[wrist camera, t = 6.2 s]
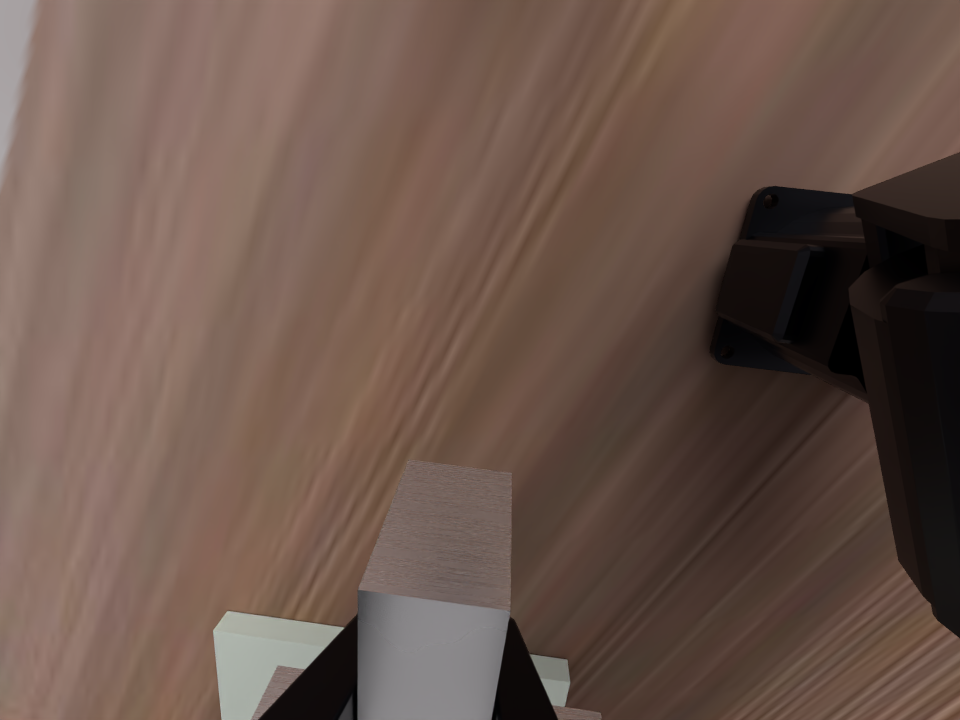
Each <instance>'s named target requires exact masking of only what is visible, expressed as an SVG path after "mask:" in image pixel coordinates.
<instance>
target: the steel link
mask: <svg viewBox="0 0 960 720" xmlns="http://www.w3.org/2000/svg"><path fill="white" fill-rule="evenodd" d="M511 505H512V473H509V472H501V471H494V470H486V469H478V468H471V467H463V466H455V465H447V464H440V463H432V462H424V461H416V460H408V462H407V465H406V468H405V470H404V473H403V475H402V478H401V480H400V483H399V486H398V488H397V491H396V493H395V496H394V498H393V501H392V504H391V506H390V509H389V511H388V514H387V516H386V519H385V521H384V524H383V527H382V529H381V532H380V534H379V537H378V539H377V542H376V545H375V547H374V550H373V552H372V555H371V557H370V560H369V563H368V565H367V568H366V570H365V573H364V575H363V578H362V580H361V583H360V586H359V588H358V720H491V719H492V713H493V707H494V701H495V696H496V690H497V684H498V679H499V673H500V667H501V662H502V656H503V650H504V645H505V639H506V633H507V627H508V622H509V616H510V601H511ZM304 670H305V669H299V668H292V667H286V666H279V665H278V666H277V668H276V670H275V672H274V674H273V676H272V678H271V680H270V682H269V684H268V686H267V688H266V690H265V692H264V694H263V696H262V698H261V700H260V702H259V704H258V706H257V708H256V710H255V712H254V714H253V716H252V718H251V720H258V719H259V718H260V717H261V716H262V715H263V714H264V712H265V711H266V710H267V709H268V708H269V707H270V706H271V705H272V704H273V703H274V702H275V701H276V700H277V699H278V698H279V697H280V695H281V694H282V693H283V692H284V691H285V690H286V689H287V688H288V687H289V686H290V685H291V684H292V683H293V682H294V681H295V680H296V678H297V677H298V676H299V675H300V674H301V673H302V672H303V671H304ZM552 706H553V708H554V711H555V713H556V715H557V718H558V720H602V717H601V712H596V711H589V710H582V709H575V708H568V707H561V706H555V705H552Z"/></svg>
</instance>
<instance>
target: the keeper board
mask: <svg viewBox="0 0 960 720" xmlns="http://www.w3.org/2000/svg"><path fill="white" fill-rule="evenodd" d="M343 629H344V627H337V626H330V625H323V624H316V623H309V622H302V621H295V620H288V619H281V618H274V617H267V616H260V615H253V614H246V613H239V612H232V611H227V612H226V614H225V615H224V616H223V618H222V619H221V621H220V622H219V623H218V625H217V626H216V627H215V629H214V630H213V634H214V644H215V655H216V666H217V676H218V687H219V697H220V708H221V718H222V720H251V718H252V716H253V714H254V712H255V710H256V708H257V706H258V704H259V702H260V700H261V698H262V696H263V694H264V692H265V690H266V688H267V686H268V684H269V682H270V680H271V678H272V676H273V674H274V672H275V670H276V668H277V666H278V665H279V666H286V667H292V668H299V669H306V668H307V667H308V666H309V665H310V664H311V663H312V661H313V660H314V659H315V658H316V657H317V656H318V655H319V654H320V653H321V652H322V651H323V650H324V649H325V648H326V647H327V646H328V645H329V643H330V642H331V641H332V640H333V639H334V638H335V637H336V636H337V635H338V634H339V633H340V632H341V631H342V630H343ZM530 656H531V658H532V660H533V663H534V665H535V667H536V670H537V672H538V674H539V676H540V679H541V681H542V683H543V686H544V688H545V690H546V692H547V695H548V697H549V699H550V702H551V704H552V705H555V706H561V707H565V703H566V699H567V694H568V690H569V685H570V677H569V669H568V661H567V659H560V658H553V657H546V656H539V655H532V654H530Z"/></svg>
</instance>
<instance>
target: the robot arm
mask: <svg viewBox="0 0 960 720" xmlns="http://www.w3.org/2000/svg"><path fill="white" fill-rule="evenodd" d="M767 195H770V196H771V198H772V204H771V206H770V207H769V208H765V207H764V205H763V200H764V198H765V197H766V196H767ZM716 312H717V313H718V315H719V317H718V321H717V324H716V328H715V332H714V335H713V339H712V343H711V346H710V354H711V357H712V358H714V359H715V360H716V361H718V362H719V363H722V364H726V365H734V366H742V367H750V368H759V369H767V370H775V371H783V372H792V373H800V374H808V375H813V376H815V377H817V378H819V379H821V380H823V381H825V382H827V383H829V384H831V385H833V386H835V387H837V388H839V389H841V390H843V391H845V392H847V393H849V394H851V395H853V396H854V397H856V398H858V399H860V400H862V401H864V402H866V403H868V404H869V407H870V412H871V418H872V423H873V428H874V434H875V439H876V444H877V450H878V455H879V460H880V465H881V471H882V476H883V481H884V487H885V492H886V497H887V503H888V508H889V513H890V518H891V524H892V529H893V534H894V540H895V545H896V550H897V556H898V561H899V562H900V564H901V565H902V566H903V568H904V569H905V571H906V572H907V574H908V575H909V577H910V578H911V580H912V581H913V582H914V584H915V585H916V587H917V588H918V590H919V591H920V593H921V594H922V596H923V597H924V598H925V599H926V600H927V601H928V602H930V603H931V606H932V612H933V615H934V616H935V617H936V619H937V620H938V621H939V622H940V623H941V624H943V625H944V626H945V627H946V628H948V629H949V630H950V631H951V632H953V633H954V634H955V635H957V636H958V637H959V638H960V152H959V153H957V154H954V155H951V156H949V157H946V158H944V159H941V160H938V161H936V162H933V163H931V164H928V165H925V166H923V167H920V168H918V169H915V170H912V171H910V172H907V173H905V174H902V175H899V176H897V177H894V178H892V179H889V180H886V181H884V182H881V183H879V184H876V185H873V186H871V187H868V188H866V189H863V190H860V191H858V192H855V193H854V194H843V193H833V192H824V191H815V190H806V189H797V188H787V187H778V186H772V187H764V188H761V189H759V190H757V191H756V192H755V193H754V194H753V196H752V198H751V200H750V204H749V208H748V211H747V215H746V219H745V222H744V226H743V230H742V233H741V237H740V240H739V241H738V242H736V243H735V244H734V245H733V247H732V250H731V254H730V257H729V261H728V265H727V268H726V272H725V276H724V280H723V283H722V287H721V291H720V294H719V298H718V302H717V305H716ZM725 346H729V347H730V350H729V352H728V353H727V354H726V355H721V350H722V348H724V347H725ZM258 720H358V614H357V615H356V616H355V617H354V618H353V619H352V620H351V621H350V622H349V623H348V624H347V625H346V626H345V628H344V629H343V630H342V631H341V632H340V633H339V634H338V635H337V636H336V637H335V638H334V639H333V640H332V641H331V642H330V643H329V645H328V646H327V647H326V648H325V649H324V650H323V651H322V652H321V653H320V654H319V655H318V656H317V657H316V658H315V659H314V660H313V661H312V663H311V664H310V665H309V666H308V667H307V668H306V669H305V670H304V671H303V672H302V673H301V674H300V675H299V676H298V677H297V678H296V680H295V681H294V682H293V683H292V684H291V685H290V686H289V687H288V688H287V689H286V690H285V691H284V692H283V693H282V694H281V695H280V697H279V698H278V699H277V700H276V701H275V702H274V703H273V704H272V705H271V706H270V707H269V708H268V709H267V710H266V711H265V712H264V714H263V715H262V716H261V717H260V718H259V719H258ZM491 720H558V718H557V715H556V713H555V711H554V708H553V706H552V704H551V702H550V699H549V697H548V695H547V692H546V690H545V688H544V686H543V683H542V681H541V679H540V676H539V674H538V672H537V670H536V667H535V665H534V663H533V660H532V658H531V656H530V654H529V651H528V649H527V647H526V644H525V642H524V640H523V638H522V635H521V633H520V631H519V629H518V626H517V624H516V622H515V620H514V619H513V618H511V617H509V622H508V627H507V633H506V639H505V645H504V650H503V656H502V662H501V667H500V673H499V679H498V684H497V690H496V696H495V701H494V707H493V713H492V719H491Z"/></svg>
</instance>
